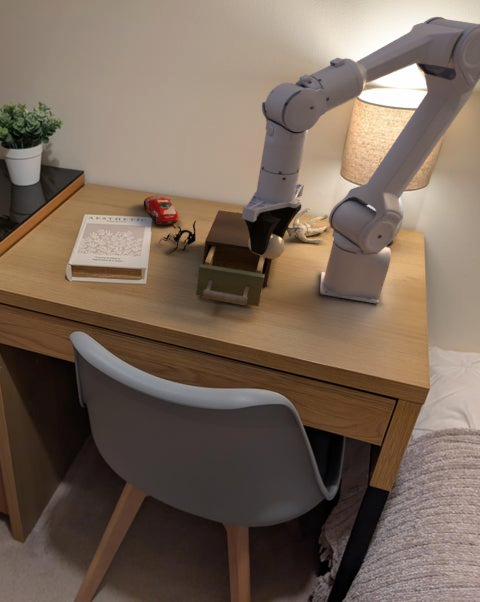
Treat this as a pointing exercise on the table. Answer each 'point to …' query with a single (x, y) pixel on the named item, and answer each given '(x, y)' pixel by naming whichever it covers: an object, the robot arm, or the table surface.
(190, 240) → the creature
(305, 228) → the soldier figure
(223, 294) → the drawer
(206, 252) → the cabinet
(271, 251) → the egg
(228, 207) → the table surface
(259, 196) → the robot arm
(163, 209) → the race car
